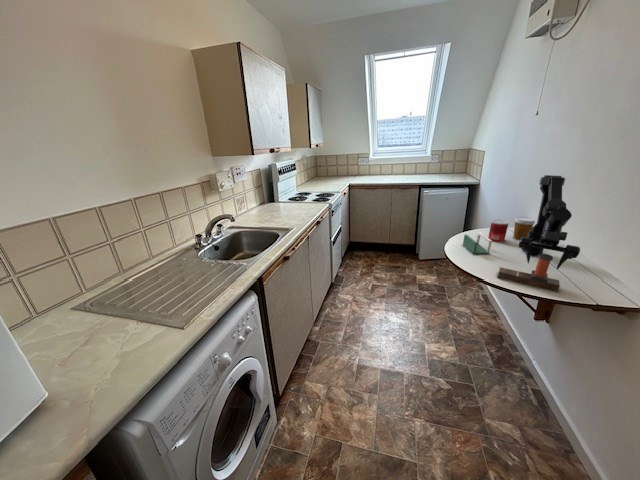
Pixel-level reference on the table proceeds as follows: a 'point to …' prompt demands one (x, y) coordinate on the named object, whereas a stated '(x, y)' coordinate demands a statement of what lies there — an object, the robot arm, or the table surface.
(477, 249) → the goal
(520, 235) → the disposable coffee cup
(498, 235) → the canned food
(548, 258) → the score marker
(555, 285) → the rail
